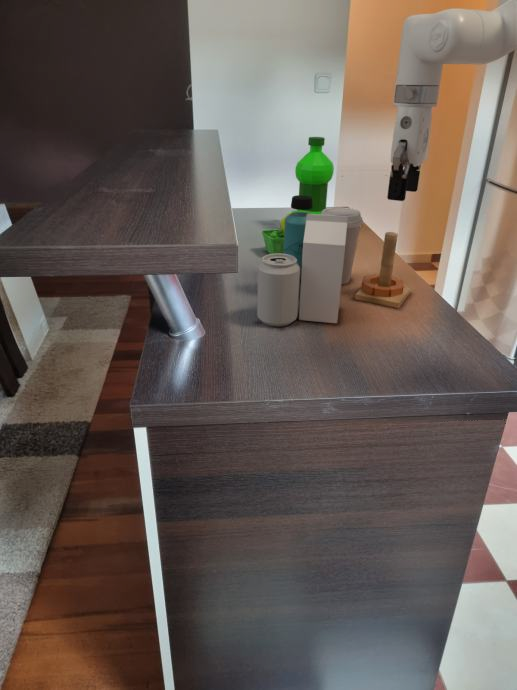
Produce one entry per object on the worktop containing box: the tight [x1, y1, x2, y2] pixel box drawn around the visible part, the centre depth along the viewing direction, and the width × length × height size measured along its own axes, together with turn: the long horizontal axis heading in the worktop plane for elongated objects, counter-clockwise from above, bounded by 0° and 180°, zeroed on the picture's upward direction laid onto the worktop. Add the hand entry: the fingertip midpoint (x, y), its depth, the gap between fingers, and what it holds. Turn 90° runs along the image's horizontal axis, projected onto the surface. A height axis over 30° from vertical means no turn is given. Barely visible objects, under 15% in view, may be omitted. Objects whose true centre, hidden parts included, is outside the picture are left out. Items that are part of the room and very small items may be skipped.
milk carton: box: [298, 214, 348, 324], centre depth 93 cm, size 7×7×19 cm
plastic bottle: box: [294, 136, 335, 215], centre depth 142 cm, size 10×10×25 cm
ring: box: [360, 273, 405, 297], centre depth 106 cm, size 8×8×2 cm
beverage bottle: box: [282, 194, 313, 294], centre depth 102 cm, size 6×7×20 cm
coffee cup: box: [321, 206, 364, 285], centre depth 111 cm, size 10×10×15 cm
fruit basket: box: [261, 210, 298, 254], centre depth 127 cm, size 11×9×11 cm
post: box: [354, 231, 411, 309], centre depth 103 cm, size 9×9×13 cm
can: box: [256, 253, 300, 327], centre depth 93 cm, size 8×8×12 cm
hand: (402, 195), depth 99 cm, fingers open, 9 cm apart
